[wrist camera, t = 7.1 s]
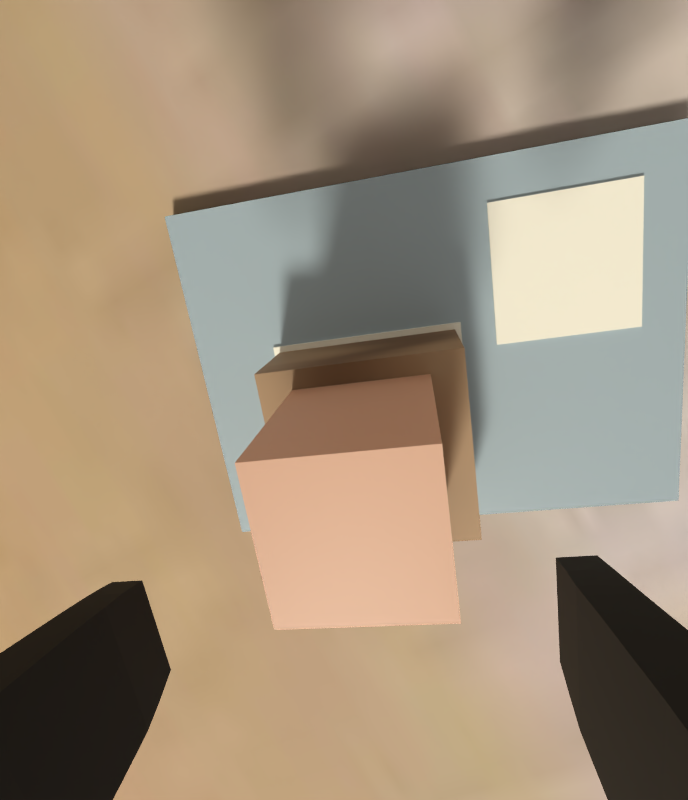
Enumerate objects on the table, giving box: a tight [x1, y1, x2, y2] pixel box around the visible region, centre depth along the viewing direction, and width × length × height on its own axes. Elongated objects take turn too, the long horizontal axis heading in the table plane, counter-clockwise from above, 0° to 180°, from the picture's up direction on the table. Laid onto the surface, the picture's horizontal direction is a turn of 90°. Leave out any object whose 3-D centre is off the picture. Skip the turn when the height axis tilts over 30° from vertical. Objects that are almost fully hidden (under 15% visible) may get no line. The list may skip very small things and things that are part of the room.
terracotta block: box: [235, 374, 461, 630], centre depth 12 cm, size 4×4×5 cm
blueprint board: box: [165, 118, 688, 532], centre depth 17 cm, size 16×12×1 cm
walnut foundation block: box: [254, 329, 482, 541], centre depth 16 cm, size 6×6×3 cm
